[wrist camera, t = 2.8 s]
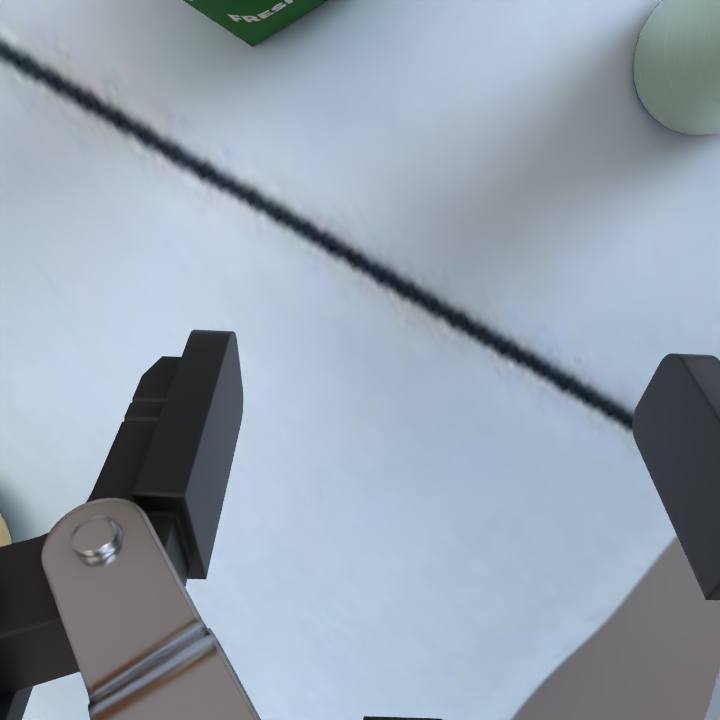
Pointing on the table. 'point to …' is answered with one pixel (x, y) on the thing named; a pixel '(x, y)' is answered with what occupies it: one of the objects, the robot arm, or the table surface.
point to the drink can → (681, 65)
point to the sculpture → (4, 533)
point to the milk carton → (254, 15)
